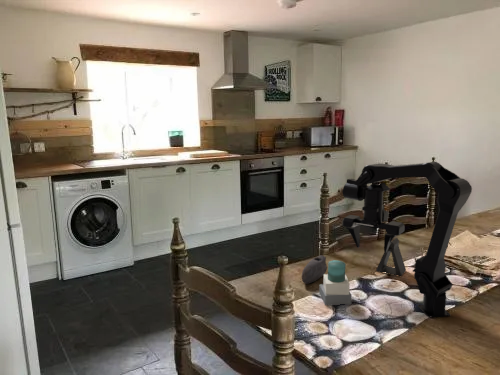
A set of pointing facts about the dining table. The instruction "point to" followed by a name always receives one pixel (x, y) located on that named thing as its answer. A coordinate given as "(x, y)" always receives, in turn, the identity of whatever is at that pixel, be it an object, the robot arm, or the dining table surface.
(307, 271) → the perforated stone tool
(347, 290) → the off-white top block
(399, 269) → the grey a-frame stand
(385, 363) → the dining table surface
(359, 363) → the dining table surface
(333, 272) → the teal short cylinder
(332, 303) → the slate base block
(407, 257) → the dining table surface
